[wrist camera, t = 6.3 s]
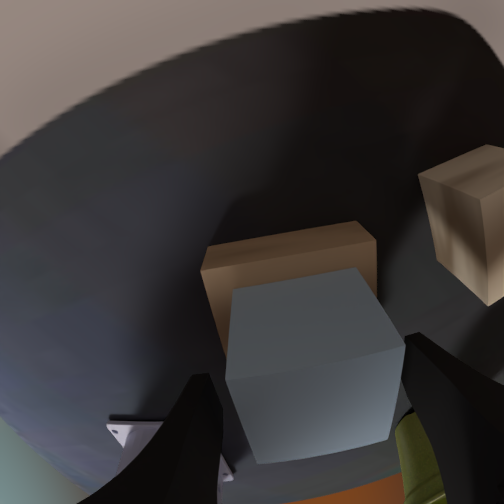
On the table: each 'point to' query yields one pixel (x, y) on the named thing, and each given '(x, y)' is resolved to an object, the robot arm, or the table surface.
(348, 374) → the grey cube
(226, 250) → the oak block
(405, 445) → the plant pot
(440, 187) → the beech cube
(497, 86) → the table surface
